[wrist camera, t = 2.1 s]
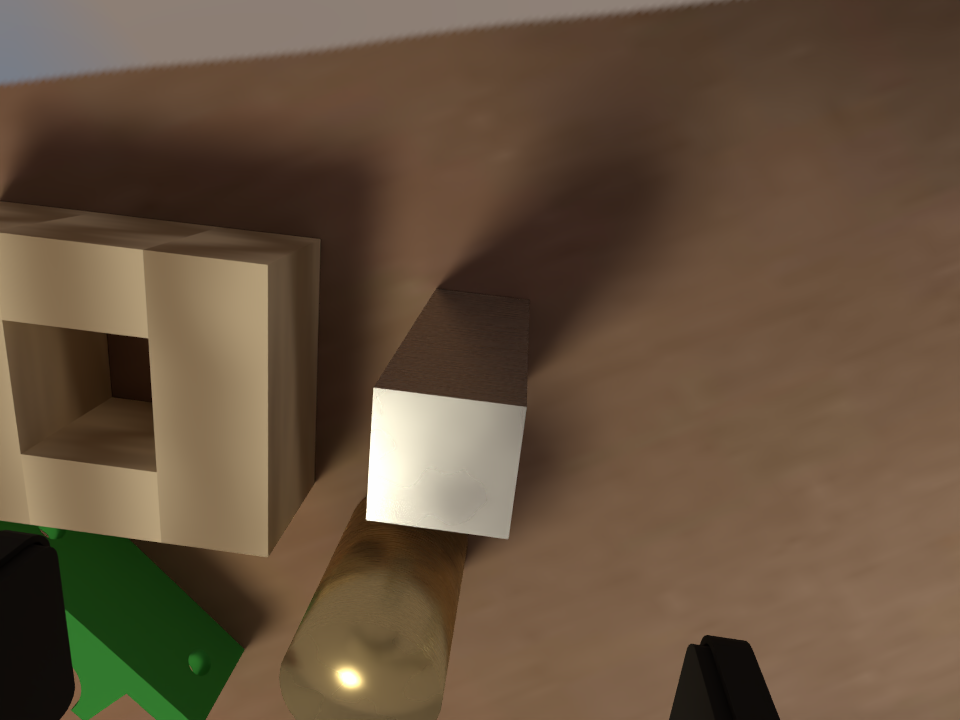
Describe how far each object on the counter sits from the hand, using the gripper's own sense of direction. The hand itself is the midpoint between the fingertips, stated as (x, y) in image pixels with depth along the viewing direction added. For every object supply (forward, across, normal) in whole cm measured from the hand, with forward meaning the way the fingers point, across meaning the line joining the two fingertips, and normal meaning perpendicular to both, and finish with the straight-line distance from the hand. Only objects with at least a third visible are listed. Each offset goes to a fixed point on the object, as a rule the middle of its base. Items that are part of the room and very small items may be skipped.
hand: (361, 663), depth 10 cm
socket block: (+16, +12, +2) cm, 20 cm away
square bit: (+16, 0, 0) cm, 16 cm away
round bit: (+16, +2, +9) cm, 18 cm away
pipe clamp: (+16, +14, +13) cm, 25 cm away
